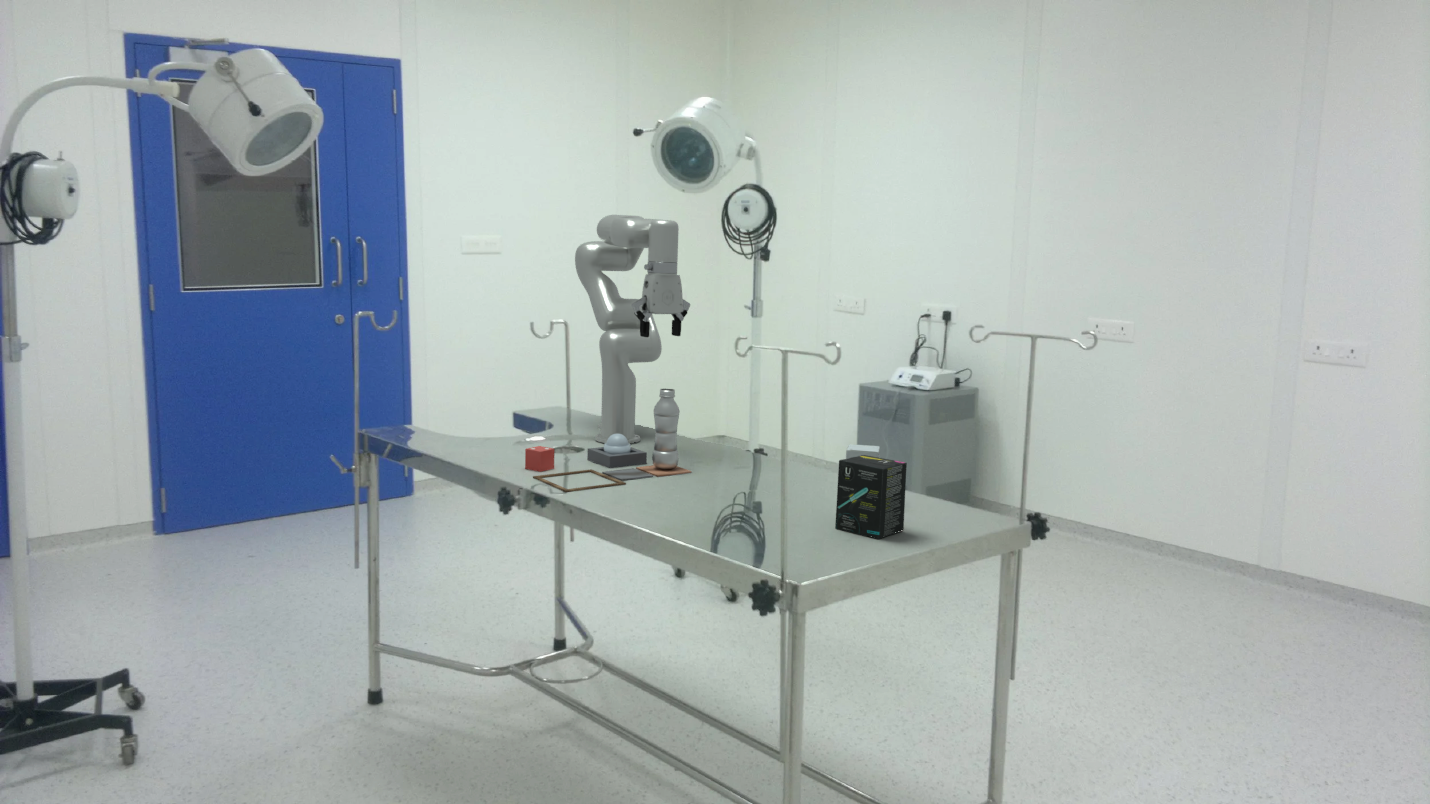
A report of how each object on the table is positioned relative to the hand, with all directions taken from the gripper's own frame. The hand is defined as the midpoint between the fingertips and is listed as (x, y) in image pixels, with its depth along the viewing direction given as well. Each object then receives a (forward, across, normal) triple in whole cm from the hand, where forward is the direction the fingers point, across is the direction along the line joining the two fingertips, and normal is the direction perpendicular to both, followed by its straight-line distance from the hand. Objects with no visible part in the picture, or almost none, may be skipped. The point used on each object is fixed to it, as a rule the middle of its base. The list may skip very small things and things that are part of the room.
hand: (660, 336), depth 273 cm
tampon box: (+33, +1, -77) cm, 84 cm away
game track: (+32, -20, -12) cm, 40 cm away
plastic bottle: (+32, -5, -12) cm, 35 cm away
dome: (+31, -11, +2) cm, 33 cm away
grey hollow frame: (+32, -11, +2) cm, 34 cm away
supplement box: (+32, +16, -59) cm, 69 cm away
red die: (+32, -32, +4) cm, 46 cm away
